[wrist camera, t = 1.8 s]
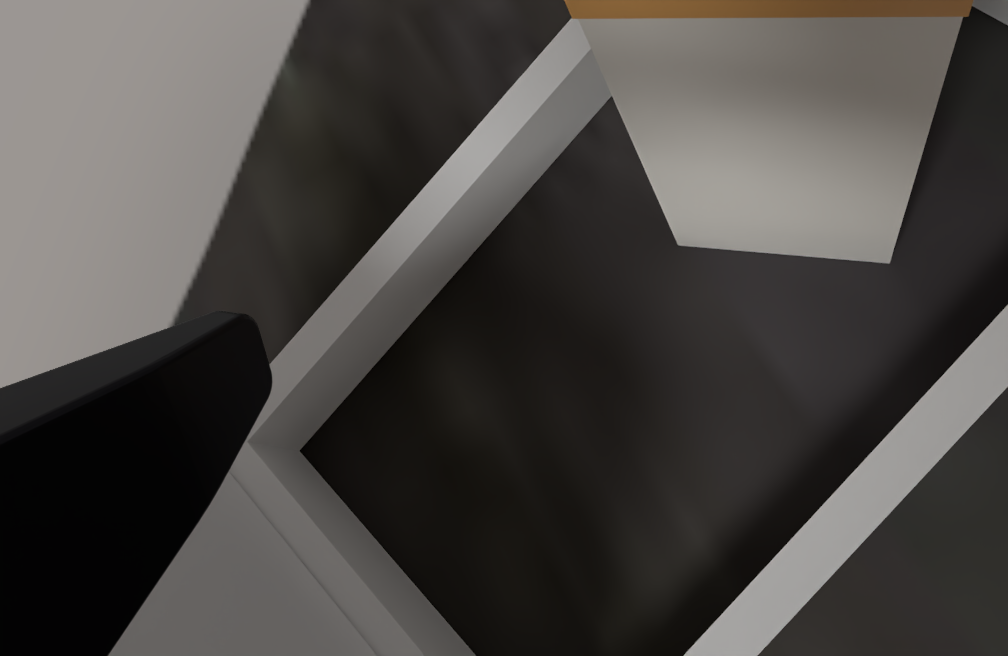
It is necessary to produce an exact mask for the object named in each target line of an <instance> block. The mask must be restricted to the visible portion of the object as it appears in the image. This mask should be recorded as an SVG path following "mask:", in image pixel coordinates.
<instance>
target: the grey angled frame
mask: <svg viewBox="0 0 1008 656" xmlns="http://www.w3.org/2000/svg"><path fill="white" fill-rule="evenodd" d="M972 6H973V7H975V8H977V9H979V10H980V11H982V12H984V13H986V14H988V15H990V16H991V17H993V18H995V19H997V20H999V21H1000V22H1002V23H1004V24H1006V25H1008V0H973V3H972ZM611 96H612V95H611V92H610V90H609V88H608V86H607V83H606V81H605V79H604V77H603V74H602V72H601V70H600V68H599V65H598V63H597V61H596V59H595V56H594V54H593V52H592V50H591V47H590V45H589V43H588V40H587V38H586V36H585V34H584V31H583V29H582V27H581V25H580V22H579V20H578V19H572V18H571V19H570V21H569V22H568V23H567V24H566V25H565V26H564V27H563V29H562V30H561V31H560V32H559V33H558V34H557V35H556V37H555V38H554V39H553V40H552V41H551V42H550V43H549V45H548V46H547V47H546V48H545V49H544V50H543V52H542V53H541V54H540V55H539V56H538V57H537V58H536V60H535V61H534V62H533V63H532V64H531V65H530V66H529V68H528V69H527V70H526V71H525V72H524V73H523V74H522V76H521V77H520V78H519V79H518V80H517V81H516V82H515V84H514V85H513V86H512V87H511V88H510V89H509V91H508V92H507V93H506V94H505V95H504V96H503V97H502V99H501V100H500V101H499V102H498V103H497V104H496V105H495V107H494V108H493V109H492V110H491V111H490V112H489V113H488V115H487V116H486V117H485V118H484V119H483V120H482V122H481V123H480V124H479V125H478V126H477V127H476V128H475V130H474V131H473V132H472V133H471V134H470V135H469V136H468V138H467V139H466V140H465V141H464V142H463V143H462V144H461V146H460V147H459V148H458V149H457V150H456V151H455V153H454V154H453V155H452V156H451V157H450V158H449V159H448V161H447V162H446V163H445V164H444V165H443V166H442V167H441V169H440V170H439V171H438V172H437V173H436V174H435V175H434V177H433V178H432V179H431V180H430V181H429V182H428V184H427V185H426V186H425V187H424V188H423V189H422V190H421V192H420V193H419V194H418V195H417V196H416V197H415V198H414V200H413V201H412V202H411V203H410V204H409V205H408V206H407V208H406V209H405V210H404V211H403V212H402V213H401V214H400V216H399V217H398V218H397V219H396V220H395V221H394V223H393V224H392V225H391V226H390V227H389V228H388V229H387V231H386V232H385V233H384V234H383V235H382V236H381V237H380V239H379V240H378V241H377V242H376V243H375V244H374V245H373V247H372V248H371V249H370V250H369V251H368V252H367V254H366V255H365V256H364V257H363V258H362V259H361V260H360V262H359V263H358V264H357V265H356V266H355V267H354V268H353V270H352V271H351V272H350V273H349V274H348V275H347V276H346V278H345V279H344V280H343V281H342V282H341V283H340V285H339V286H338V287H337V288H336V289H335V290H334V291H333V293H332V294H331V295H330V296H329V297H328V298H327V299H326V301H325V302H324V303H323V304H322V305H321V306H320V307H319V309H318V310H317V311H316V312H315V313H314V314H313V316H312V317H311V318H310V319H309V320H308V321H307V322H306V324H305V325H304V326H303V327H302V328H301V329H300V330H299V332H298V333H297V334H296V335H295V336H294V337H293V338H292V340H291V341H290V342H289V343H288V344H287V345H286V346H285V348H284V349H283V350H282V351H281V352H280V353H279V355H278V356H277V357H276V358H275V359H274V360H273V361H272V363H271V364H270V369H271V372H272V389H271V393H270V396H269V398H268V400H267V402H266V404H265V405H264V407H263V409H262V411H261V413H260V415H259V416H258V418H257V420H256V422H255V424H254V426H253V428H252V429H251V431H250V433H249V435H248V437H247V439H246V440H245V442H244V444H243V446H242V448H241V450H240V451H239V453H238V455H237V457H236V459H235V461H234V462H233V464H232V466H231V468H230V470H229V472H228V474H227V475H226V477H225V479H224V481H223V483H222V485H221V486H220V488H219V490H218V492H217V493H216V495H215V497H214V499H213V500H212V502H211V504H210V506H209V507H208V509H207V510H206V512H205V513H204V515H203V516H202V518H201V520H200V521H199V523H198V524H197V526H196V527H195V529H194V530H193V532H192V533H191V534H190V536H189V537H188V539H187V540H186V542H185V543H184V545H183V546H182V548H181V549H180V551H179V552H178V554H177V555H176V557H175V558H174V560H173V561H172V562H171V564H170V565H169V567H168V568H167V570H166V571H165V573H164V574H163V576H162V577H161V579H160V580H159V582H158V583H157V585H156V586H155V588H154V589H153V590H152V592H151V593H150V595H149V596H148V598H147V599H146V601H145V602H144V604H143V605H142V607H141V608H140V610H139V611H138V613H137V614H136V616H135V617H134V618H133V620H132V621H131V623H130V624H129V626H128V627H127V629H126V630H125V632H124V633H123V635H122V636H121V638H120V639H119V641H118V642H117V644H116V645H115V646H114V648H113V649H112V651H111V652H110V654H109V655H108V656H476V655H475V654H474V653H473V652H472V650H471V649H470V648H469V647H468V646H467V645H466V643H465V642H464V641H463V640H462V639H461V638H460V637H459V635H458V634H457V633H456V632H455V631H454V630H453V628H452V627H451V626H450V625H449V624H448V623H447V621H446V620H445V619H444V618H443V617H442V616H441V614H440V613H439V612H438V611H437V610H436V609H435V608H434V606H433V605H432V604H431V603H430V602H429V601H428V599H427V598H426V597H425V596H424V595H423V594H422V592H421V591H420V590H419V589H418V588H417V587H416V586H415V584H414V583H413V582H412V581H411V580H410V579H409V577H408V576H407V575H406V574H405V573H404V572H403V570H402V569H401V568H400V567H399V566H398V565H397V563H396V562H395V561H394V560H393V559H392V558H391V557H390V555H389V554H388V553H387V552H386V551H385V550H384V548H383V547H382V546H381V545H380V544H379V543H378V541H377V540H376V539H375V538H374V537H373V536H372V534H371V533H370V532H369V531H368V530H367V529H366V528H365V526H364V525H363V524H362V523H361V522H360V521H359V519H358V518H357V517H356V516H355V515H354V514H353V512H352V511H351V510H350V509H349V508H348V507H347V505H346V504H345V503H344V502H343V501H342V500H341V499H340V497H339V496H338V495H337V494H336V493H335V492H334V490H333V489H332V488H331V487H330V486H329V485H328V483H327V482H326V481H325V480H324V479H323V478H322V476H321V475H320V474H319V473H318V472H317V471H316V470H315V468H314V467H313V466H312V465H311V464H310V463H309V461H308V460H307V459H306V458H305V457H304V456H303V454H302V453H301V452H300V450H301V449H302V447H303V446H304V445H305V444H306V443H307V442H308V441H309V439H310V438H311V437H312V436H313V435H314V434H315V433H316V431H317V430H318V429H319V428H320V427H321V426H322V425H323V423H324V422H325V421H326V420H327V419H328V418H329V417H330V416H331V414H332V413H333V412H334V411H335V410H336V409H337V408H338V406H339V405H340V404H341V403H342V402H343V401H344V400H345V398H346V397H347V396H348V395H349V394H350V393H351V392H352V391H353V389H354V388H355V387H356V386H357V385H358V384H359V383H360V381H361V380H362V379H363V378H364V377H365V376H366V375H367V373H368V372H369V371H370V370H371V369H372V368H373V367H374V366H375V364H376V363H377V362H378V361H379V360H380V359H381V358H382V356H383V355H384V354H385V353H386V352H387V351H388V350H389V348H390V347H391V346H392V345H393V344H394V343H395V342H396V340H397V339H398V338H399V337H400V336H401V335H402V334H403V333H404V331H405V330H406V329H407V328H408V327H409V326H410V325H411V323H412V322H413V321H414V320H415V319H416V318H417V317H418V315H419V314H420V313H421V312H422V311H423V310H424V309H425V308H426V306H427V305H428V304H429V303H430V302H431V301H432V300H433V298H434V297H435V296H436V295H437V294H438V293H439V292H440V290H441V289H442V288H443V287H444V286H445V285H446V284H447V282H448V281H449V280H450V279H451V278H452V277H453V276H454V275H455V273H456V272H457V271H458V270H459V269H460V268H461V267H462V265H463V264H464V263H465V262H466V261H467V260H468V259H469V257H470V256H471V255H472V254H473V253H474V252H475V251H476V250H477V248H478V247H479V246H480V245H481V244H482V243H483V242H484V240H485V239H486V238H487V237H488V236H489V235H490V234H491V232H492V231H493V230H494V229H495V228H496V227H497V226H498V225H499V223H500V222H501V221H502V220H503V219H504V218H505V217H506V215H507V214H508V213H509V212H510V211H511V210H512V209H513V207H514V206H515V205H516V204H517V203H518V202H519V201H520V199H521V198H522V197H523V196H524V195H525V194H526V193H527V192H528V190H529V189H530V188H531V187H532V186H533V185H534V184H535V182H536V181H537V180H538V179H539V178H540V177H541V176H542V174H543V173H544V172H545V171H546V170H547V169H548V168H549V167H550V165H551V164H552V163H553V162H554V161H555V160H556V159H557V157H558V156H559V155H560V154H561V153H562V152H563V151H564V149H565V148H566V147H567V146H568V145H569V144H570V143H571V141H572V140H573V139H574V138H575V137H576V136H577V135H578V134H579V132H580V131H581V130H582V129H583V128H584V127H585V126H586V124H587V123H588V122H589V121H590V120H591V119H592V118H593V116H594V115H595V114H596V113H597V112H598V111H599V110H600V109H601V107H602V106H603V105H604V104H605V103H606V102H607V101H608V99H609V98H610V97H611ZM1007 387H1008V305H1007V306H1006V307H1005V308H1004V309H1003V310H1002V312H1001V313H1000V314H999V315H998V316H997V317H996V318H995V319H994V320H993V321H992V322H991V323H990V325H989V326H988V327H987V328H986V329H985V330H984V331H983V332H982V333H981V334H980V335H979V336H978V338H977V339H976V340H975V341H974V342H973V343H972V344H971V345H970V346H969V347H968V348H967V349H966V351H965V352H964V353H963V354H962V355H961V356H960V357H959V358H958V359H957V360H956V361H955V362H954V364H953V365H952V366H951V367H950V368H949V369H948V370H947V371H946V372H945V373H944V374H943V375H942V376H941V378H940V379H939V380H938V381H937V382H936V383H935V384H934V385H933V386H932V387H931V388H930V389H929V391H928V392H927V393H926V394H925V395H924V396H923V397H922V398H921V399H920V400H919V401H918V402H917V404H916V405H915V406H914V407H913V408H912V409H911V410H910V411H909V412H908V413H907V414H906V415H905V417H904V418H903V419H902V420H901V421H900V422H899V423H898V424H897V425H896V426H895V427H894V428H893V429H892V431H891V432H890V433H889V434H888V435H887V436H886V437H885V438H884V439H883V440H882V441H881V442H880V444H879V445H878V446H877V447H876V448H875V449H874V450H873V451H872V452H871V453H870V454H869V455H868V457H867V458H866V459H865V460H864V461H863V462H862V463H861V464H860V465H859V466H858V467H857V468H856V470H855V471H854V472H853V473H852V474H851V475H850V476H849V477H848V478H847V479H846V480H845V481H844V483H843V484H842V485H841V486H840V487H839V488H838V489H837V490H836V491H835V492H834V493H833V494H832V495H831V497H830V498H829V499H828V500H827V501H826V502H825V503H824V504H823V505H822V506H821V507H820V508H819V510H818V511H817V512H816V513H815V514H814V515H813V516H812V517H811V518H810V519H809V520H808V521H807V523H806V524H805V525H804V526H803V527H802V528H801V529H800V530H799V531H798V532H797V533H796V534H795V536H794V537H793V538H792V539H791V540H790V541H789V542H788V543H787V544H786V545H785V546H784V547H783V549H782V550H781V551H780V552H779V553H778V554H777V555H776V556H775V557H774V558H773V559H772V560H771V561H770V563H769V564H768V565H767V566H766V567H765V568H764V569H763V570H762V571H761V572H760V573H759V574H758V576H757V577H756V578H755V579H754V580H753V581H752V582H751V583H750V584H749V585H748V586H747V587H746V589H745V590H744V591H743V592H742V593H741V594H740V595H739V596H738V597H737V598H736V599H735V600H734V602H733V603H732V604H731V605H730V606H729V607H728V608H727V609H726V610H725V611H724V612H723V613H722V614H721V616H720V617H719V618H718V619H717V620H716V621H715V622H714V623H713V624H712V625H711V626H710V627H709V629H708V630H707V631H706V632H705V633H704V634H703V635H702V636H701V637H700V638H699V639H698V640H697V642H696V643H695V644H694V645H693V646H692V647H691V648H690V649H689V650H688V651H687V652H686V653H685V655H684V656H757V655H758V654H759V653H760V652H761V651H762V650H763V649H764V648H765V647H766V646H767V645H768V644H769V643H770V641H771V640H772V639H773V638H774V637H775V636H776V635H777V634H778V633H779V632H780V631H781V630H782V629H783V627H784V626H785V625H786V624H787V623H788V622H789V621H790V620H791V619H792V618H793V617H794V616H795V615H796V614H797V612H798V611H799V610H800V609H801V608H802V607H803V606H804V605H805V604H806V603H807V602H808V601H809V600H810V598H811V597H812V596H813V595H814V594H815V593H816V592H817V591H818V590H819V589H820V588H821V587H822V586H823V584H824V583H825V582H826V581H827V580H828V579H829V578H830V577H831V576H832V575H833V574H834V573H835V572H836V571H837V569H838V568H839V567H840V566H841V565H842V564H843V563H844V562H845V561H846V560H847V559H848V558H849V557H850V555H851V554H852V553H853V552H854V551H855V550H856V549H857V548H858V547H859V546H860V545H861V544H862V543H863V541H864V540H865V539H866V538H867V537H868V536H869V535H870V534H871V533H872V532H873V531H874V530H875V529H876V528H877V526H878V525H879V524H880V523H881V522H882V521H883V520H884V519H885V518H886V517H887V516H888V515H889V514H890V512H891V511H892V510H893V509H894V508H895V507H896V506H897V505H898V504H899V503H900V502H901V501H902V500H903V498H904V497H905V496H906V495H907V494H908V493H909V492H910V491H911V490H912V489H913V488H914V487H915V486H916V485H917V483H918V482H919V481H920V480H921V479H922V478H923V477H924V476H925V475H926V474H927V473H928V472H929V471H930V469H931V468H932V467H933V466H934V465H935V464H936V463H937V462H938V461H939V460H940V459H941V458H942V457H943V455H944V454H945V453H946V452H947V451H948V450H949V449H950V448H951V447H952V446H953V445H954V444H955V443H956V442H957V440H958V439H959V438H960V437H961V436H962V435H963V434H964V433H965V432H966V431H967V430H968V429H969V428H970V426H971V425H972V424H973V423H974V422H975V421H976V420H977V419H978V418H979V417H980V416H981V415H982V414H983V412H984V411H985V410H986V409H987V408H988V407H989V406H990V405H991V404H992V403H993V402H994V401H995V400H996V399H997V397H998V396H999V395H1000V394H1001V393H1002V392H1003V391H1004V390H1005V389H1006V388H1007Z"/></svg>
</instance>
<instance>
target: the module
mask: <svg viewBox="0 0 1008 656" xmlns="http://www.w3.org/2000/svg"><path fill="white" fill-rule="evenodd" d="M564 1H565V3H566V5H567V8H568V10H569V12H570V14H571V16H572V19H578V20H579V22H580V25H581V27H582V29H583V31H584V34H585V36H586V38H587V40H588V43H589V45H590V47H591V50H592V52H593V54H594V56H595V59H596V61H597V63H598V65H599V68H600V70H601V72H602V74H603V77H604V79H605V81H606V83H607V86H608V88H609V90H610V92H611V95H612V97H613V99H614V102H615V104H616V106H617V108H618V111H619V113H620V115H621V117H622V120H623V122H624V124H625V126H626V129H627V131H628V133H629V135H630V138H631V140H632V142H633V144H634V147H635V149H636V151H637V153H638V156H639V158H640V160H641V163H642V165H643V167H644V169H645V172H646V174H647V176H648V178H649V181H650V183H651V185H652V187H653V190H654V192H655V194H656V196H657V199H658V201H659V203H660V205H661V208H662V210H663V212H664V215H665V217H666V219H667V221H668V224H669V226H670V228H671V230H672V233H673V235H674V237H675V239H676V242H677V244H678V245H679V246H691V247H703V248H714V249H726V250H738V251H749V252H761V253H773V254H784V255H796V256H808V257H819V258H831V259H843V260H854V261H866V262H878V263H889V264H890V260H891V257H892V254H893V250H894V247H895V244H896V240H897V237H898V234H899V230H900V227H901V224H902V220H903V217H904V213H905V210H906V207H907V203H908V200H909V197H910V193H911V190H912V187H913V183H914V180H915V177H916V173H917V170H918V167H919V163H920V160H921V157H922V153H923V150H924V146H925V143H926V140H927V136H928V133H929V130H930V126H931V123H932V120H933V116H934V113H935V110H936V106H937V103H938V100H939V96H940V93H941V89H942V86H943V83H944V79H945V76H946V73H947V69H948V66H949V63H950V59H951V56H952V53H953V49H954V46H955V43H956V39H957V36H958V32H959V29H960V26H961V22H962V19H963V17H968V16H969V13H970V10H971V7H972V3H973V0H564Z"/></svg>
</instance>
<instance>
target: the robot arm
mask: <svg viewBox="0 0 1008 656" xmlns="http://www.w3.org/2000/svg"><path fill="white" fill-rule="evenodd" d="M271 389H272V372H271V369H270V365H269V362H268V358H267V355H266V351H265V348H264V345H263V341H262V338H261V334H260V331H259V328H258V325H257V323H256V322H255V321H254V319H253V318H252V317H250V316H248V315H246V314H240V313H233V312H226V311H215V312H212V313H209V314H206V315H203V316H200V317H198V318H195V319H192V320H189V321H186V322H184V323H181V324H178V325H175V326H173V327H170V328H167V329H164V330H161V331H159V332H156V333H153V334H150V335H147V336H145V337H142V338H139V339H136V340H134V341H131V342H128V343H125V344H123V345H120V346H117V347H114V348H111V349H108V350H106V351H103V352H100V353H98V354H95V355H92V356H89V357H86V358H83V359H81V360H78V361H75V362H72V363H70V364H67V365H64V366H61V367H58V368H55V369H53V370H50V371H47V372H44V373H42V374H39V375H36V376H33V377H31V378H28V379H25V380H22V381H19V382H17V383H14V384H11V385H8V386H5V387H3V388H0V656H108V655H109V654H110V652H111V651H112V649H113V648H114V646H115V645H116V644H117V642H118V641H119V639H120V638H121V636H122V635H123V633H124V632H125V630H126V629H127V627H128V626H129V624H130V623H131V621H132V620H133V618H134V617H135V616H136V614H137V613H138V611H139V610H140V608H141V607H142V605H143V604H144V602H145V601H146V599H147V598H148V596H149V595H150V593H151V592H152V590H153V589H154V588H155V586H156V585H157V583H158V582H159V580H160V579H161V577H162V576H163V574H164V573H165V571H166V570H167V568H168V567H169V565H170V564H171V562H172V561H173V560H174V558H175V557H176V555H177V554H178V552H179V551H180V549H181V548H182V546H183V545H184V543H185V542H186V540H187V539H188V537H189V536H190V534H191V533H192V532H193V530H194V529H195V527H196V526H197V524H198V523H199V521H200V520H201V518H202V516H203V515H204V513H205V512H206V510H207V509H208V507H209V506H210V504H211V502H212V500H213V499H214V497H215V495H216V493H217V492H218V490H219V488H220V486H221V485H222V483H223V481H224V479H225V477H226V475H227V474H228V472H229V470H230V468H231V466H232V464H233V462H234V461H235V459H236V457H237V455H238V453H239V451H240V450H241V448H242V446H243V444H244V442H245V440H246V439H247V437H248V435H249V433H250V431H251V429H252V428H253V426H254V424H255V422H256V420H257V418H258V416H259V415H260V413H261V411H262V409H263V407H264V405H265V404H266V402H267V400H268V398H269V396H270V393H271Z"/></svg>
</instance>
